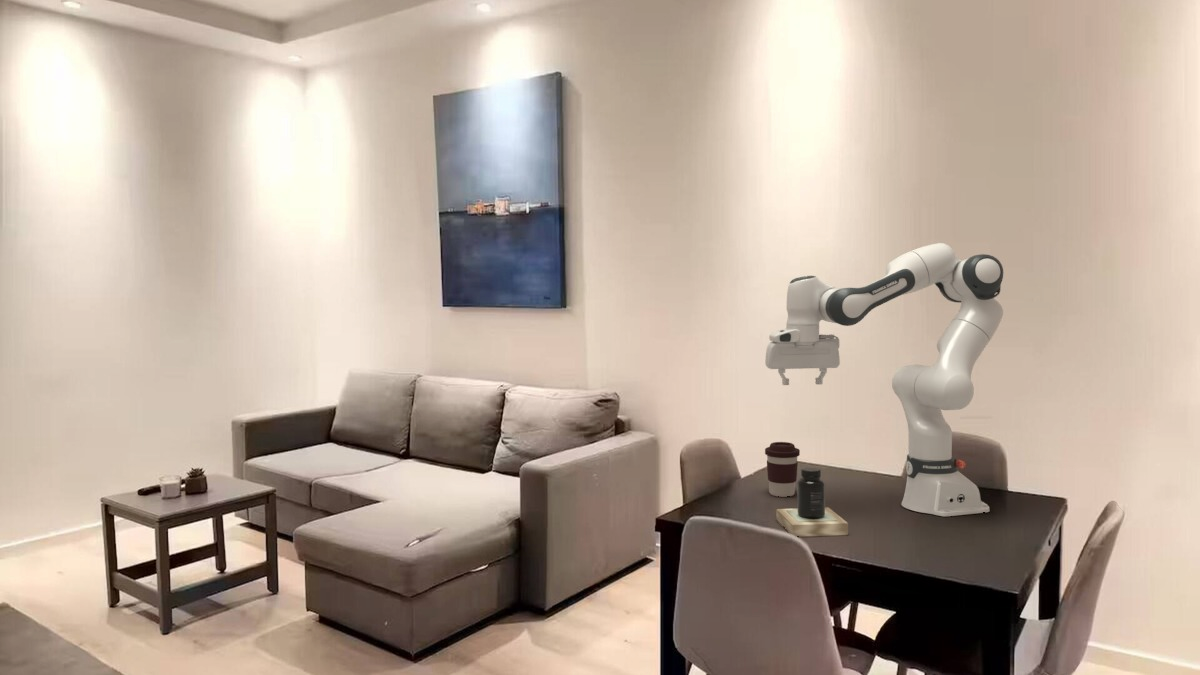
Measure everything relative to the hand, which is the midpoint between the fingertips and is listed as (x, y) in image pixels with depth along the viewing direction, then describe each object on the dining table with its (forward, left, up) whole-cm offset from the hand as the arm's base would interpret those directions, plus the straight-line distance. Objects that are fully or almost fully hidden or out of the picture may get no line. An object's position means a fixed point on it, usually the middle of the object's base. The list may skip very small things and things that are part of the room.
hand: (802, 384), depth 229 cm
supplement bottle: (+4, +20, -31) cm, 37 cm away
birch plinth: (+4, +20, -34) cm, 40 cm away
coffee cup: (+2, -12, -34) cm, 36 cm away
